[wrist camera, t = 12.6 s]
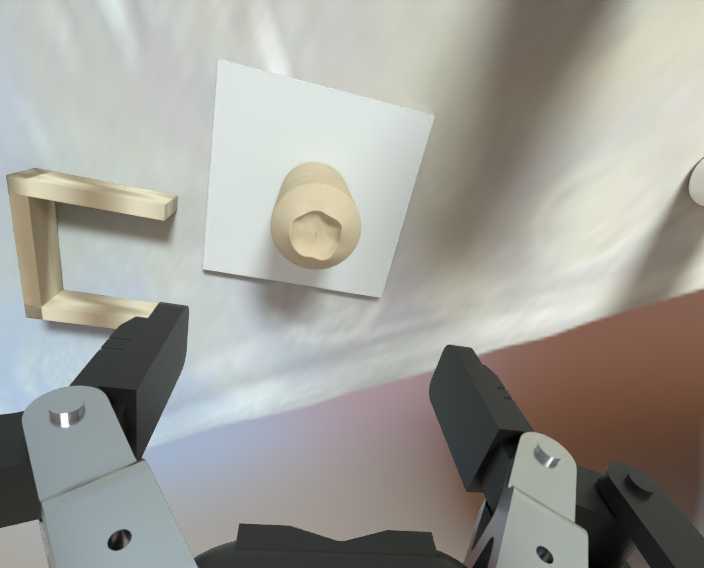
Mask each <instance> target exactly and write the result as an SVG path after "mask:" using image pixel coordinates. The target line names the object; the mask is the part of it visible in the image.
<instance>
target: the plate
mask: <svg viewBox="0 0 704 568" xmlns="http://www.w3.org/2000/svg"><path fill="white" fill-rule="evenodd" d="M434 117H435V115H432V114H428V113H424V112H420V111H416V110H413V109H409V108H405V107H401V106H397V105H394V104H390V103H386V102H382V101H378V100H374V99H371V98H367V97H363V96H359V95H355V94H351V93H348V92H344V91H340V90H336V89H332V88H329V87H325V86H321V85H317V84H313V83H309V82H306V81H302V80H298V79H294V78H290V77H286V76H283V75H279V74H275V73H271V72H267V71H264V70H260V69H256V68H252V67H248V66H244V65H241V64H237V63H233V62H229V61H225V60H221V59H218V68H217V82H216V95H215V109H214V122H213V136H212V149H211V163H210V176H209V190H208V203H207V217H206V230H205V244H204V257H203V269H205V270H211V271H218V272H224V273H230V274H236V275H242V276H249V277H255V278H261V279H267V280H273V281H280V282H286V283H292V284H298V285H304V286H311V287H317V288H323V289H329V290H335V291H341V292H348V293H354V294H360V295H366V296H372V297H379V298H381V297H382V294H383V291H384V287H385V284H386V280H387V277H388V274H389V270H390V267H391V263H392V260H393V257H394V253H395V250H396V246H397V243H398V240H399V236H400V233H401V229H402V226H403V222H404V219H405V216H406V212H407V209H408V205H409V202H410V199H411V195H412V192H413V188H414V185H415V182H416V178H417V175H418V171H419V168H420V165H421V161H422V158H423V154H424V151H425V148H426V144H427V141H428V137H429V134H430V131H431V127H432V124H433V120H434ZM307 162H320V163H324V164H327V165H329V166H331V167H333V168H334V169H335V170H337V171H338V172H339V173H340V174H341V176H342V177H343V178H344V180H345V182H346V184H347V186H348V189H349V191H350V193H351V195H352V198H353V200H354V202H355V205H356V207H357V210H358V212H359V215H360V219H361V233H360V238H359V241H358V244H357V246H356V248H355V249H354V251H353V252H352V253H351V254H350V256H349V257H348V258H346V259H345V260H344V261H343V262H341V263H339V264H338V265H336V266H333V267H330V268H327V269H321V270H313V269H306V268H302V267H299V266H297V265H295V264H293V263H291V262H290V261H288V260H287V259H286V258H285V257H284V256H283V255H282V254H281V253H280V252H279V250H278V249H277V247H276V245H275V244H274V241H273V238H272V234H271V217H272V213H273V210H274V207H275V204H276V200H277V197H278V194H279V191H280V188H281V185H282V183H283V181H284V179H285V177H286V176H287V174H288V173H289V172H290V171H291V170H292V169H294V168H295V167H297V166H298V165H301V164H303V163H307Z"/></svg>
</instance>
